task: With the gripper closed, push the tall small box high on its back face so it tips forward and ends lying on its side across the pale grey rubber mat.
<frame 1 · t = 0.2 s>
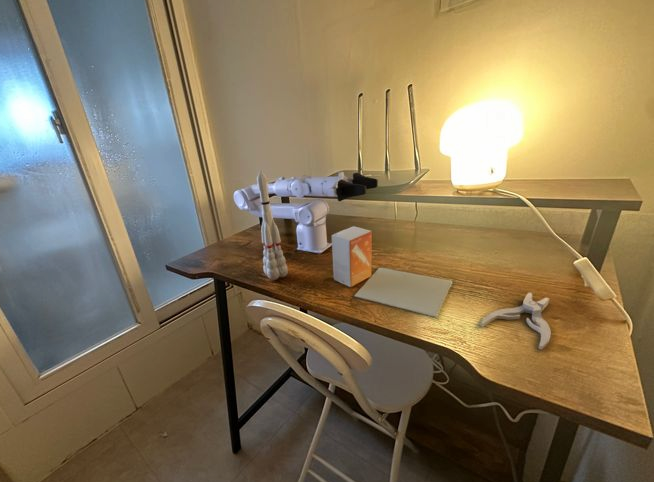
hand: (371, 186, 81), 21 cm above the table, tool horizontal, fingers open, 7 cm apart
mat: (403, 289, 73), on the table
small box: (352, 278, 81), on the table
pliers: (523, 318, 58), on the table
rocket model: (276, 277, 87), on the table
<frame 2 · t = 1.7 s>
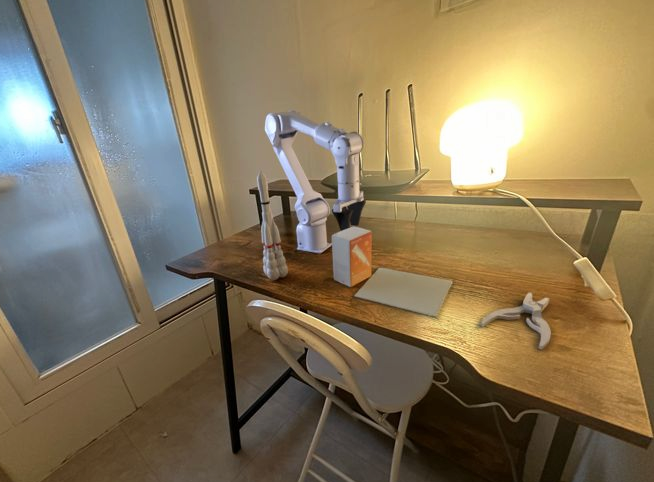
hand: (349, 228, 87), 9 cm above the table, tool pointing down, fingers open, 6 cm apart
nothing on the table moved.
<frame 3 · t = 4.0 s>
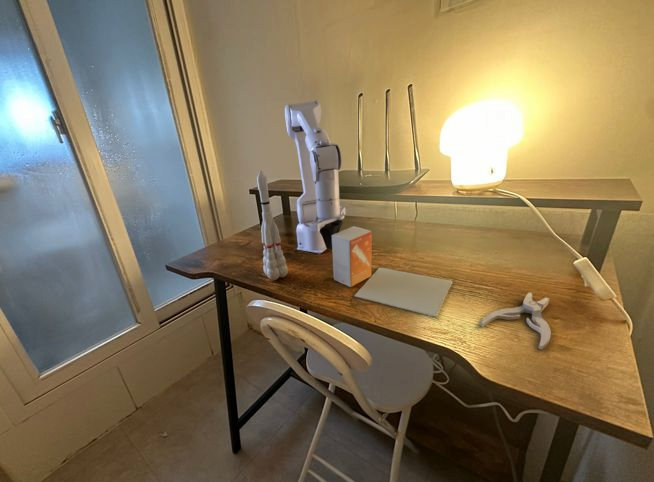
hand: (330, 248, 81), 8 cm above the table, tool pointing down, fingers closed
small box: (352, 278, 81), on the table, touching gripper
everything else where it was.
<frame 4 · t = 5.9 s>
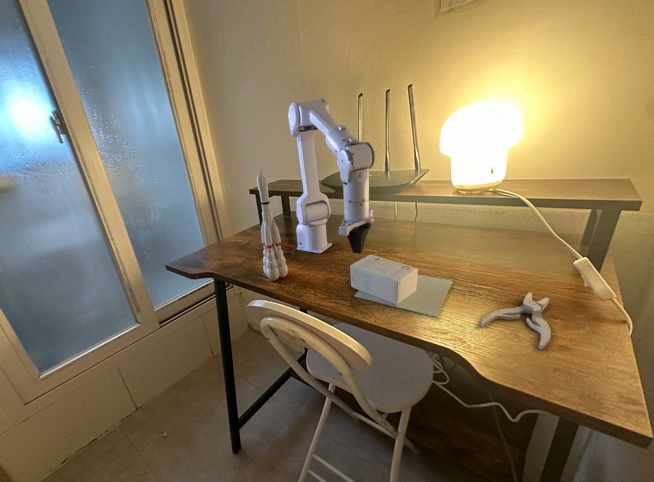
hand: (357, 252, 76), 8 cm above the table, tool pointing down, fingers closed
small box: (359, 270, 77), point 3 cm above the table, touching mat
everything else where it was.
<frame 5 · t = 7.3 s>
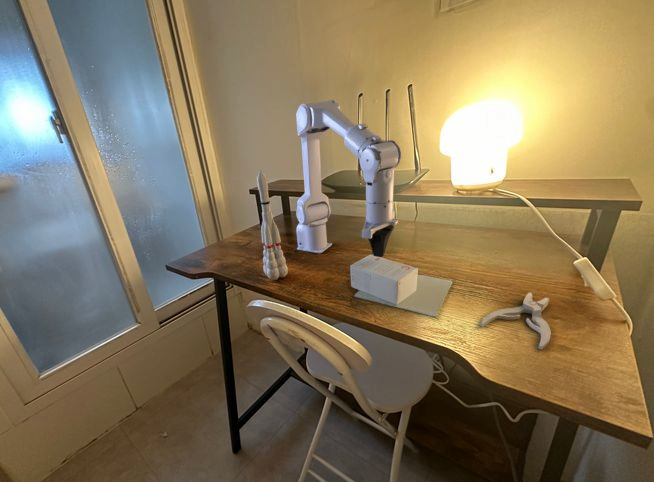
hand: (378, 255, 73), 8 cm above the table, tool pointing down, fingers closed
nothing on the table moved.
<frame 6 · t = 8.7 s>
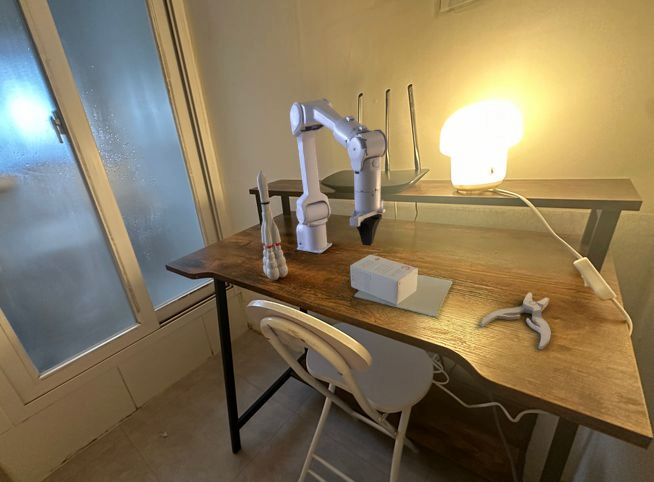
hand: (367, 244, 74), 10 cm above the table, tool pointing down, fingers closed
nothing on the table moved.
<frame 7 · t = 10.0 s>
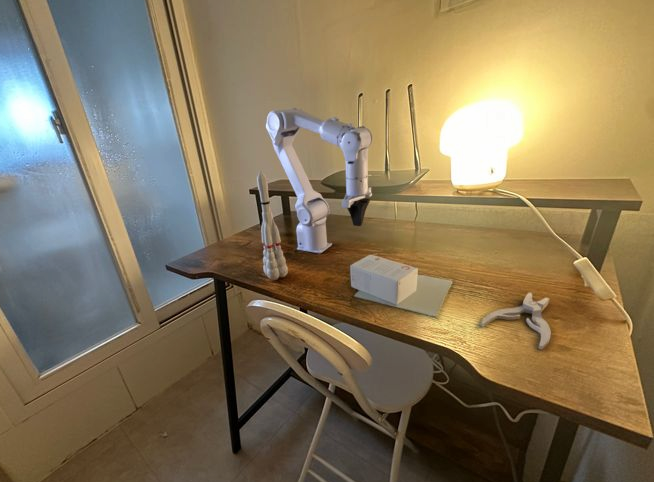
hand: (357, 225, 86), 10 cm above the table, tool pointing down, fingers closed
nothing on the table moved.
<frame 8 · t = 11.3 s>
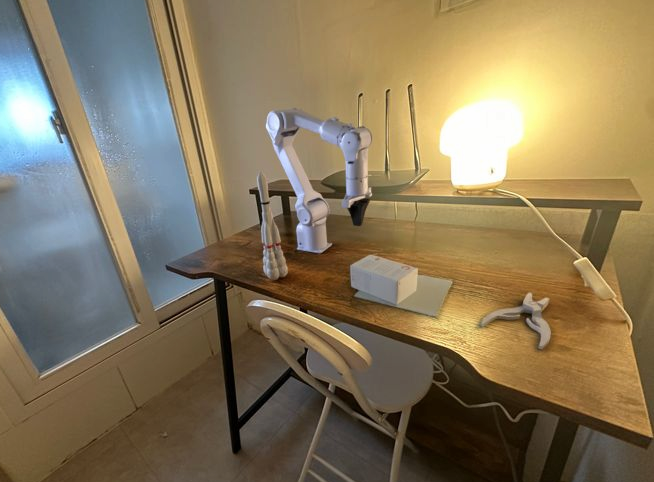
hand: (357, 225, 86), 10 cm above the table, tool pointing down, fingers closed
nothing on the table moved.
at the end: small box tilted 89°; small box touching mat; the gripper is holding nothing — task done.
